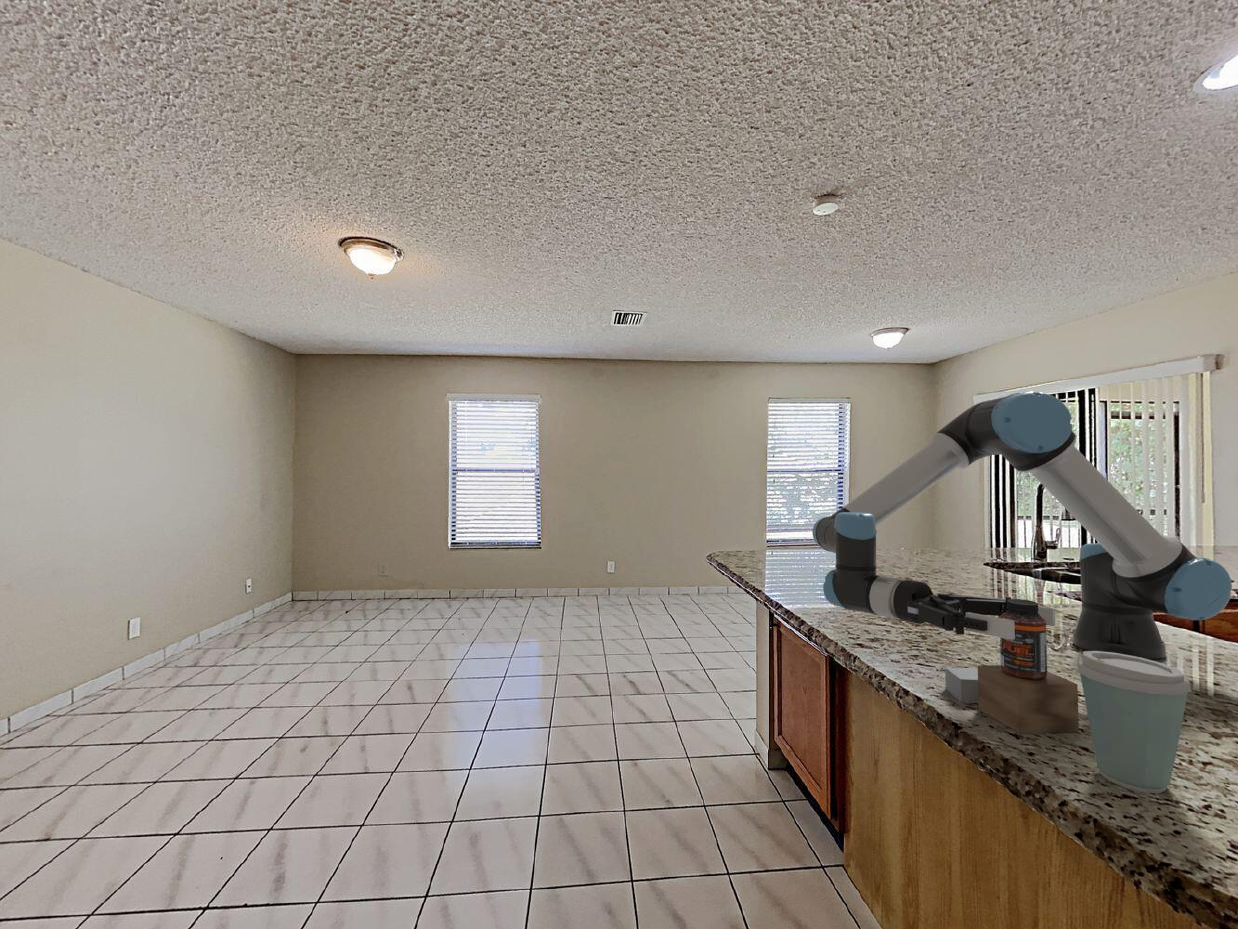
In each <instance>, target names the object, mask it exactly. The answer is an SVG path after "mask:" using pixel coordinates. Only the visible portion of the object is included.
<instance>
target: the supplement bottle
mask: <svg viewBox="0 0 1238 929" xmlns="http://www.w3.org/2000/svg"><path fill="white" fill-rule="evenodd" d="M1038 606H1039V603H1038V602H1037V601H1034V600H1029V599H1023V598H1022V599H1021V598H1011V599H1009V600H1007V608H1008V610H1007V611H1006V612H1005V613H1003V614H1002V615H1001V616H999V618H1003V619H1008V620H1014V627H1015V639H1014V640H1011V639H1006V638H1001V637H999V638H1000V641H999V643H1000V644H999V645H1000V647H999V648H1000V649H999V650H1000V665H1001V669H1002V670H1003V671H1004V672H1005V673H1007V674H1009V675H1011V676H1014V677H1018V678H1023V679H1030V680H1039V679H1043V678H1046V676H1047V671H1048V654H1047V653H1048V646H1047V638H1048V637H1047V625H1046V621H1045V619H1044V618H1042V617H1041V616H1040V615H1039V614H1038V611H1039V610H1038Z"/></svg>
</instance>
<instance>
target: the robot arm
mask: <svg viewBox="0 0 1238 929" xmlns="http://www.w3.org/2000/svg"><path fill="white" fill-rule="evenodd" d="M1072 417H1073V416H1072V414H1071V412H1070V410H1069V409H1068V407H1067V406H1066V405H1065V403H1063V402H1062V400H1060V399H1059V398H1057V397H1056V396H1054V395H1052V394H1049V393H1045V392H1041V391H1024V392H1023V391H1021V392H1015V393H1011V394H1009V395H1006V396H1002V397H999V398H994V399H989V400H985V401H980V402H978V403H976V404H974V405H973V406H970V407H969V408H968V409H966V410H965V411H964V410H963V412H962V413H961V414H959V415H958V416H956V417H955V418H953V419H952V420H951V421H950V422H948V423H947V424H946V425H945V426H943V427H942V428H941V429H940V430H938V431H936V432H935V433H933V435H932V437H931V442H930V443H929V444H927V445H925V446H924V447H923V448H922V449H920V450H919V451H918V452H916V453H915V454H914V455H912V456H911V457H909V458H908V459H907V460H905V461H904V462H902V463H901V464H899V465H898V466H897V467H896V468H894V469H893V470H892V471H890V472H889V473H888V474H886V475H885V476H883V477H882V478H880V479H879V480H878V481H876V482H875V483H874V484H873V485H871V486H870V487H868V488H867V489H866V490H864V491H863V492H862V493H860V494H859V495H858V496H856V497H854V499H852V500H851V501H849V502H848V503H846V505H844V506H842V508H840V509H839V510H837V511H835V512H834V513H833V514H832V515H829V516H825V517H824V516H823V517H821V518H820V519H818V520H817V521H816V522H815V523H814V524H813V527H812V531H811V532H812V537H813V540H814V542H815V543H816V544H817V545H818V546H819V547H820V548H822V549H823V551H824V550H825V551H826V552H829V553H833V554H835V569H832V570H830V571H828V572H827V574H826V576H825V578H824V579H825V580H824V582H823V584H822V591H823V595H824V597H825V600H826V601H827V602H828V603H830V604H832V605H833V606H836V607H840V608H843V609H845V610H847V611H856V612H861V613H865V614H871V615H875V616H881V617H885V619H886V620H887V621H892V619H895V620H900V621H902V622H906V623H912V624H916V625H923V624H925V623H928V624H930V625H933V626H935V627H938V628H939V629H943V630H946V631H949V632H951V631H952V632H953V631H954V630H955V634H956V635H959V636H960V635H965V630H966V631H968V632H973V633H979V634H981V635H988V636H992V637H997V638H1000V637H1001V638H1006V639H1011V640H1014V639H1015V627H1014V620H1008V619H1003V618H1000V617H1001V615H1002V614H1003V613H1005V612H1006V611H1007V610H1008V608H1007V600H1009V599H1012V597H1011V596H1008V595H1007V596H1005V598H1002V597H1001V598H1000V597H999V598H998V597H991V596H990V597H988V596H987V597H986V596H976V595H975V596H974V595H963V594H955V593H951V592H950V593H949V592H948V593H937V595H935V594H934V593H933V591H932V588H931V587H930V586H929V584H927V583H926V582H924V581H919V580H918V581H917V580H912V579H904V578H899V577H894V576H886V575H885V576H884V575H878V574H877V526H879V525H881V524H882V523H883V522H885V521H886V520H887V519H889V518H890V517H891V516H893V515H895V514H896V513H897V512H899V510H901V509H903V508H904V507H905V506H906V505H908V504H910V503H911V502H912V501H914V500H915V499H917V498H918V497H919V496H920V495H922V494H923V493H925V492H926V491H928V490H929V489H930V488H932V487H933V486H935V485H936V484H937V483H938V482H940V481H941V480H943V479H944V478H946V477H947V476H948V475H949V474H951V473H952V472H953V471H955V470H957V469H966V468H968V467H969V466H970V465H971V464H973V463H975V462H976V461H978V460H981V459H984V458H987V457H991V456H998V455H1001V456H1002V457H1004V459H1005V460H1006V461H1008V462H1009V464H1010V465H1011V466H1012V467H1013V468H1014V469H1015V470H1016V471H1017V472H1019V473H1030V474H1032V476H1033V477H1034V478H1035V479H1036V480H1037V481H1038V482H1039V483H1040V484H1041V485H1042V486H1043V487H1044V488H1045V489H1046V490H1047V491H1048V492H1049V493H1050V494H1051V496H1053V498H1055V500H1057V501H1058V503H1060V505H1062V506H1063V508H1064V509H1065V510H1066V511H1068V513H1069V514H1070V515H1071V516H1072V517H1073V518H1074V519H1075V520H1076V521H1077V522H1078V523H1079V524H1080V525H1081V526H1082V527H1083V528H1084V530H1086V531H1087V533H1088V534H1090V536H1092V538H1094V540H1096V542H1097V543H1095V542H1093V543H1091V542H1090V543H1085V544H1084V545H1082V546H1081V547H1080V553H1079V554H1080V555H1079V560H1078V562H1079V566H1080V569H1079V570H1080V592H1081V593H1080V594H1081V612H1080V615H1079V616H1078V620H1077V624H1076V627H1075V629H1074V630H1073V632H1072V644H1074V645H1075V646H1076V647H1078V648H1080V649H1083V650H1084V651H1085V650H1086V651H1102V652H1112V653H1119V654H1124V655H1130V656H1136V657H1141V658H1145V659H1148V660H1159V659H1163V658H1165V657H1166V656H1167V654H1166V653H1167V652H1166V643H1165V641H1163V640H1162V636H1161V633H1160V631H1159V628H1158V626H1157V623H1156V621H1155V619H1154V614H1153V612H1157V613H1161V614H1164V615H1167V616H1172V617H1174V618H1176V619H1187V620H1191V621H1203V620H1204V621H1205V620H1208V619H1211V618H1213V617H1215V616H1217V615H1218V614H1219V613H1221V612H1222V611H1224V609H1225V608H1226V606H1227V605H1228V603H1229V601H1230V599H1231V594H1232V593H1231V591H1232V590H1233V586H1232V585H1233V584H1232V578H1231V576H1230V574H1229V573H1228V571H1227V569H1226V568H1225V567H1224V566H1223V565H1222V564H1220V563H1219V562H1217V561H1214V560H1212V559H1210V558H1206V557H1197V556H1195V555H1194V554H1193V553H1192V552H1191V551H1190V550H1189V549H1188V548H1187V547H1186V546H1185V545H1184V544H1183V543H1182V541H1181V540H1179V539H1178V538H1177V537H1175V536H1172V535H1167V534H1161V533H1159V531H1158V530H1157V529H1156V528H1154V526H1152V524H1151V523H1150V522H1149V521H1148V520H1147V519H1146V518H1145V517H1144V516H1143V515H1142V514H1141V513H1140V512H1139V511H1138V510H1137V508H1135V507H1134V506H1133V505H1132V504H1131V502H1129V501H1128V500H1127V498H1125V496H1124V495H1122V494H1121V492H1120V491H1119V490H1118V489H1117V488H1116V487H1115V486H1114V485H1113V484H1112V483H1111V482H1110V481H1109V480H1108V479H1107V478H1106V477H1105V476H1104V475H1103V474H1102V473H1101V472H1100V471H1099V470H1098V468H1096V467H1095V466H1094V465H1093V463H1091V462H1090V461H1089V460H1088V459H1087V458H1086V456H1084V454H1083V453H1082V452H1081V451H1080V450H1078V448H1077V447H1076V446H1075V444H1076V441H1077V434H1076V433H1075V432H1074V431H1073V423H1072V422H1071V420H1072V419H1073V418H1072ZM1038 610H1039V611H1038V614H1039V615H1040V616H1041V617H1042V618H1044V619H1045V621H1046V626H1048V627H1057V626H1056V608H1051V607H1046V606H1040V605H1038Z"/></svg>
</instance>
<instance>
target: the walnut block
mask: <svg viewBox="0 0 1238 929" xmlns="http://www.w3.org/2000/svg"><path fill="white" fill-rule="evenodd" d="M977 669H978V699H979V703H978V710H980V711H981V712H983V713H985V714H986V715H988V716H990V717H992V719H995V720H996V721H998V722H1000V724H1003V725H1004V726H1006V727H1008V728H1009V729H1012V730H1013V731H1014V732H1016V733H1018V734H1021V735H1022V734H1054V733H1055V734H1056V733H1059V734H1060V733H1062V734H1064V733H1080V722H1079V719H1080V718H1079V717H1080V716H1079V693H1078V692H1079V691H1078V690H1079V689H1078V686H1079V685H1078V684H1077V683H1075V682H1074V681H1071V680H1069V679H1067V678H1064V677H1062V676H1059V675H1057V674H1055V673H1052V672H1050V671H1048V670H1047V676H1046V678H1043V679H1039V680H1030V679H1023V678H1018V677H1014V676H1011V675H1009V674H1007V673H1005V672H1004V671H1003V670H1002V669H1001V664H993V665H992V664H989V665H987V664H986V665H984V664H983V665H977Z"/></svg>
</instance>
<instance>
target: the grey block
mask: <svg viewBox="0 0 1238 929" xmlns="http://www.w3.org/2000/svg"><path fill="white" fill-rule="evenodd" d="M944 674H945V690H946V691H947V692H948V693H950V694H951V695H952V696H953V697H955V698H956V699H957V700H958V701H959V702H960V703H970V704H972V703H974V704H975V703H976V704H979V699H978V668H975V667H974V668H973V667H972V668H970V667H969V668H968V667H945V672H944Z"/></svg>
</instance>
